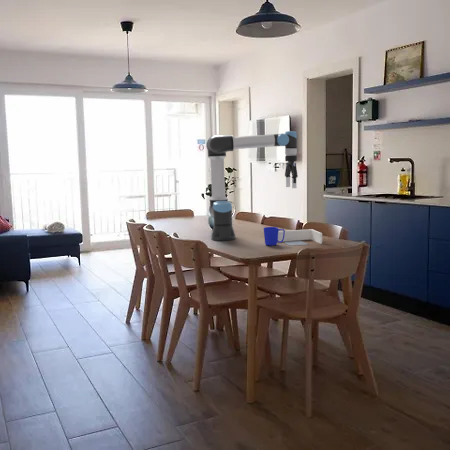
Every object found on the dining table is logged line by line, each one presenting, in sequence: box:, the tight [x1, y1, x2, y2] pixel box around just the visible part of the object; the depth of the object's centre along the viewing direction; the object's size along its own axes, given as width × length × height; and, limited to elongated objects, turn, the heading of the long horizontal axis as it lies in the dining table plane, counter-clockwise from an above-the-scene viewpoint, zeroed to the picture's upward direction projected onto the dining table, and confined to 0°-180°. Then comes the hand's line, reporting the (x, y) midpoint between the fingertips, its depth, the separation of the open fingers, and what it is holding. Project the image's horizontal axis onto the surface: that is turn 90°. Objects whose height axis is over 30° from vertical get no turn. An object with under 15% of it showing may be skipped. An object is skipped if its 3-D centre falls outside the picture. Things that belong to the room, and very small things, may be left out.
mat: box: [281, 240, 309, 247], centre depth 308 cm, size 11×15×1 cm
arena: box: [278, 228, 323, 245], centre depth 310 cm, size 25×17×6 cm
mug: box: [263, 226, 286, 247], centre depth 303 cm, size 8×12×10 cm
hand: (291, 187), depth 349 cm, fingers open, 13 cm apart
